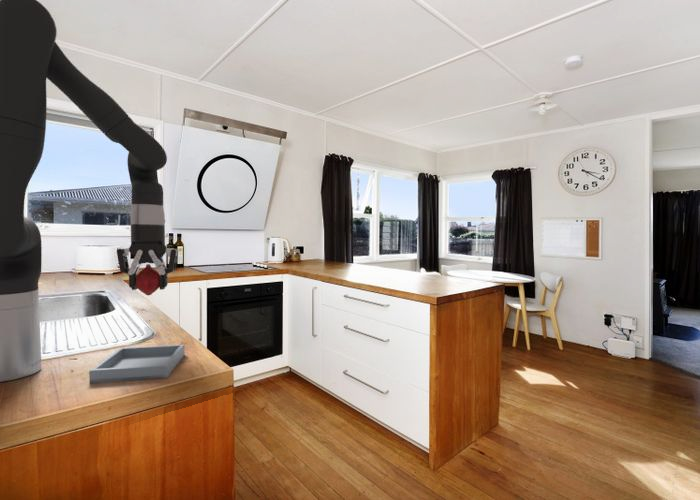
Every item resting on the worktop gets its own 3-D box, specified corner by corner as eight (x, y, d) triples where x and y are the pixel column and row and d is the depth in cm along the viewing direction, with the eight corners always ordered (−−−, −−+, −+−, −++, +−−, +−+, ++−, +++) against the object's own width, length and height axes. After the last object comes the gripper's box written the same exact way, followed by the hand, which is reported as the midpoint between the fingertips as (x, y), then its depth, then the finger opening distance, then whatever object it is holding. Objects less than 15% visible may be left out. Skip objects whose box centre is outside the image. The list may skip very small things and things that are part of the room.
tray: (89, 383, 71) (89, 370, 70) (120, 358, 84) (120, 347, 84) (166, 377, 73) (166, 365, 73) (184, 354, 87) (184, 344, 87)
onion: (165, 295, 92) (165, 264, 92) (140, 298, 88) (140, 265, 88) (156, 292, 96) (156, 262, 96) (132, 295, 92) (131, 264, 92)
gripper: (109, 222, 86) (110, 292, 87) (174, 223, 89) (174, 291, 90) (122, 223, 94) (123, 287, 94) (182, 224, 96) (182, 286, 97)
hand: (148, 289), depth 92 cm, fingers closed on onion, 6 cm apart
